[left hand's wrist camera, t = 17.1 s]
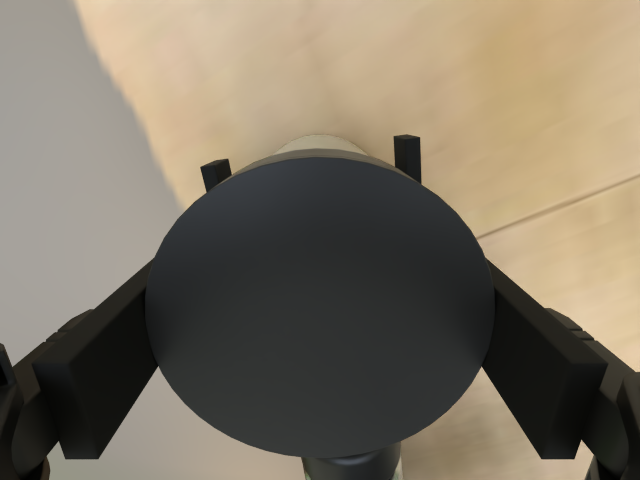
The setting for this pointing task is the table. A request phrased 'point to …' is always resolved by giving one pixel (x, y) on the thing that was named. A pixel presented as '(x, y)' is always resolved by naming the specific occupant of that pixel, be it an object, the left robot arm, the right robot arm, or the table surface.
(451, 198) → the table surface
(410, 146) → the right robot arm
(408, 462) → the table surface
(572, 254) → the table surface
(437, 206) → the lid
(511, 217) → the table surface
